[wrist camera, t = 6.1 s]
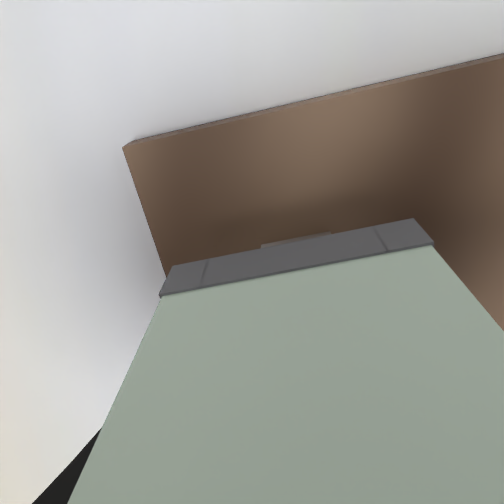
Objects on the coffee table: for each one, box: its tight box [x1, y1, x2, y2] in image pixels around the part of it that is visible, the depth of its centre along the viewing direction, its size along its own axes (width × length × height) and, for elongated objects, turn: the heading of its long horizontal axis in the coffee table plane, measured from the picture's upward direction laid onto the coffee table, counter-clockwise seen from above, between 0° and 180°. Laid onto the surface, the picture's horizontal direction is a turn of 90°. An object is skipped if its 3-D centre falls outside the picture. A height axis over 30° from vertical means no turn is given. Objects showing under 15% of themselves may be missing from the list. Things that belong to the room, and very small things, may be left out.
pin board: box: [122, 54, 504, 331], centre depth 11 cm, size 16×9×4 cm, turn 103°
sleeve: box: [67, 218, 504, 504], centre depth 7 cm, size 5×5×6 cm
